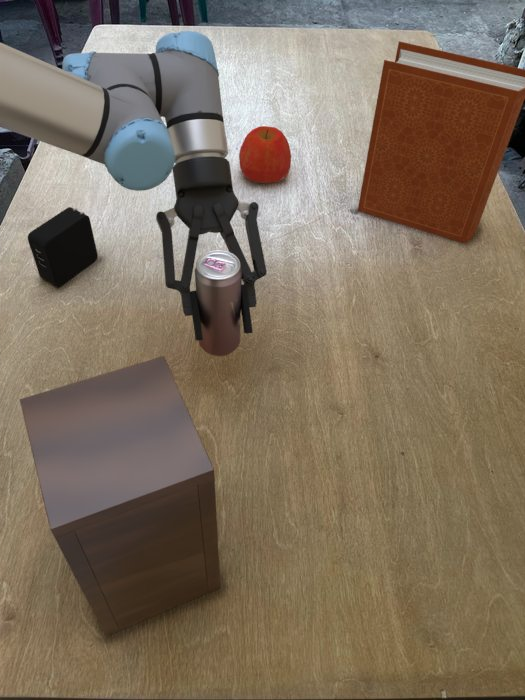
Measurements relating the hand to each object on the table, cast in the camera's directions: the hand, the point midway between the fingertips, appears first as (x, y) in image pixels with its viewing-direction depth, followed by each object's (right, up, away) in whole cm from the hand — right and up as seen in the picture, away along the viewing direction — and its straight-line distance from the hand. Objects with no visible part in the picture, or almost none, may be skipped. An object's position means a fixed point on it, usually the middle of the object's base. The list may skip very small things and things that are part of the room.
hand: (223, 336), depth 84 cm
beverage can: (-1, -1, +7) cm, 7 cm away
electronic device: (-29, +12, +27) cm, 42 cm away
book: (+36, +25, +41) cm, 60 cm away
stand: (-9, -28, -7) cm, 30 cm away
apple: (+6, +35, +48) cm, 60 cm away
